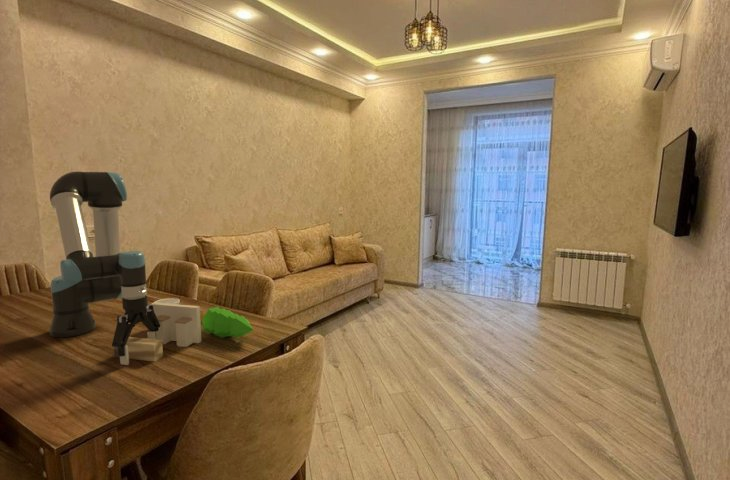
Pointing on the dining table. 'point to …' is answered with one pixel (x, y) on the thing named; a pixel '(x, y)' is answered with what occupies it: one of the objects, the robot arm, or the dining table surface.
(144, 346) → the rail
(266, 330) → the dining table surface
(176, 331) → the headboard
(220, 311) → the decorative tree
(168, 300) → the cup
